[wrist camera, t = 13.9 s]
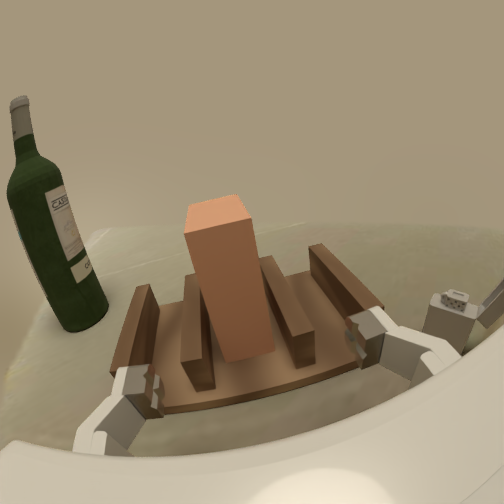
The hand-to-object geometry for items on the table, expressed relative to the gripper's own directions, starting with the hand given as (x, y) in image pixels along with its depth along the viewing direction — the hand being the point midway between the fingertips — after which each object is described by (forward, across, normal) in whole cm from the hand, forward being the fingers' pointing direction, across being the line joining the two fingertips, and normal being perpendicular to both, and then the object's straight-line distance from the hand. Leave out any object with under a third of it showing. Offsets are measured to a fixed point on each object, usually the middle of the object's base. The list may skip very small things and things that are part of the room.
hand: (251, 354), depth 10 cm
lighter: (+1, -16, +9) cm, 18 cm away
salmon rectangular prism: (+11, 0, +8) cm, 13 cm away
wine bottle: (+21, +21, +9) cm, 31 cm away
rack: (+11, 0, +9) cm, 14 cm away
